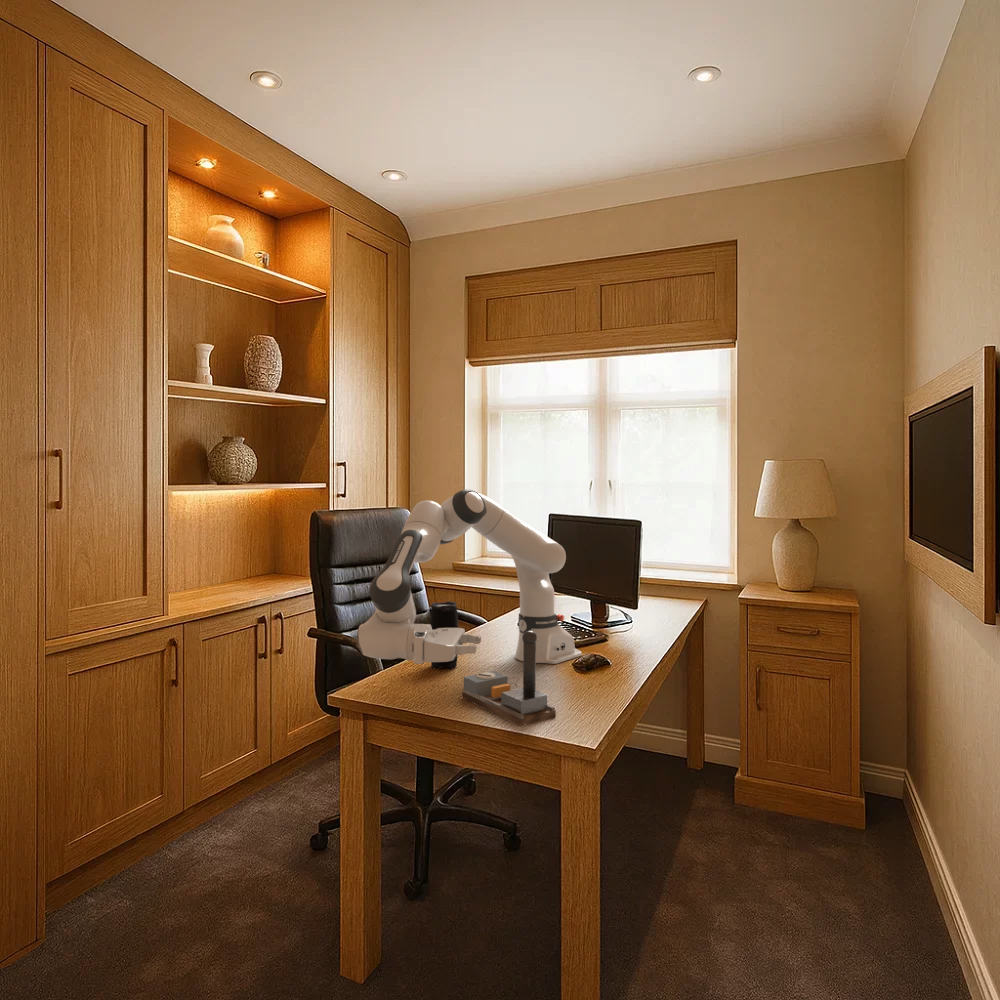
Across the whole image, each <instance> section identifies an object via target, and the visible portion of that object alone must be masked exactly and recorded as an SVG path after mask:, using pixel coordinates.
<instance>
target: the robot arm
mask: <svg viewBox="0 0 1000 1000" xmlns="http://www.w3.org/2000/svg"><path fill="white" fill-rule="evenodd" d="M471 528H472V529H474V530H475V531H476V532H477V533H478V534H479V535H481V536H482V537H484V538H485V539H487V540H488V541H489V542H491V543H492V544H493V545H495V546H496V547H498V548H499V549H501V550H502V551H505V552H506V553H507V554H509V555H511V559H512V560H513V562H514V564H515V570H516V574H517V575H516V576H517V580H518V586H519V613H518V622H517V623H518V639H517V646H516V649H515V654H514V658H515V659H516V660H517V661H519V662H520V661H521V662H523V640H522V636H523V634H524V633H525V632H526V631H533V632H535V633H536V635H537V641H536V664H552V665H555V664H559V663H562V662H566V661H568V660H572V659H575V658H578V657H581V656H583V653H582V651H581V650H580V649H577V648H576V647H575V646H576V645H575V640H574V636H572V634H570V632H568V631H567V630H565V629H564V627H562V626H561V625H559V621H560V622H564V621H565V616H564V615H563V614H560V613H559V614H556V613H555V589H554V586H553V584H552V582H551V579H550V574H554V573H555V574H556V573H558V572H559V571H560V570H562V568H564V566H565V563H566V560H567V554H566V550H565V548H564V547H563V545H561V544H559V543H558V542H557V541H555V540H554V539H552V538H550V537H549V536H547V535H546V534H545V533H543V532H541V531H540V530H537V529H536V528H534V527H533V526H532V525H530V524H528V523H526V522H525V521H523V520H521V519H520V518H519V517H517V516H516V515H515V514H514V513H512V512H511V511H509V510H508V509H507V508H505V507H504V506H502V505H501V504H500V503H498V502H497V501H495V500H494V499H492V498H490V497H489V496H486V495H484V494H482V493H480V492H477V491H475V490H472V489H470V488H469V489H468V488H465V489H461V490H460V491H457V492H455V494H453V495H452V496H450V497H448V498H447V499H446V500H444V501H443V502H442V503H441V504H439V503H438V502H435V501H433V500H430V499H429V500H427V499H426V500H421V501H419V502H417V503H416V504H415V505H414V506H413V509H412V510H411V512H410V513H409V515H408V517H407V519H406V521H405V523H404V526H403V528H402V530H401V534H400V535H399V536H398V538H397V540H396V542H395V544H394V546H393V548H392V550H391V552H390V555H389V557H388V559H387V561H386V562H385V564H384V567H382V569H381V570H380V571H379V572H378V573H377V575H375V577H373V579H372V580H371V583H370V584H369V589H368V593H369V596H370V597H369V598H370V599H371V600H372V603H373V605H374V608H375V611H374V613H373V614H372V615H371V616H370V618H368V619H367V621H365V622H364V623H362V624H360V625H359V626H358V629H357V633H356V634H357V644H358V647H359V651H360V653H361V654H362V655H363V656H365V657H368V658H371V659H372V658H373V659H381V660H395V659H404V660H406V661H413V664H415V665H416V664H417V665H422V664H424V663H431V662H448V661H452V660H454V658H455V657H456V655H458V656H462V655H468V654H473V655H475V654H476V653H477V645H479V644H481V643H482V637H481V635H475V634H470V633H466V630H465V628H462V627H458V628H437V629H436V630H432V627H431V625H430V623H415V622H416V619H417V610H416V606H415V605H416V604H415V601H414V598H413V594H412V590H411V589H412V586H411V580H410V573H411V571H412V568H413V565H414V563H418V564H419V563H425V562H428V561H431V560H432V559H433V558H434V556H435V555H436V553H437V551H438V549H439V547H440V545H446V544H449V543H451V542H453V541H454V540H455V539H457V538H460V537H461V536H463V535H464V534H465V533H467V532H468V531H469V530H470V529H471ZM467 643H468V644H467Z"/></svg>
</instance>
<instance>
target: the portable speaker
mask: <svg viewBox="0 0 1000 1000" xmlns="http://www.w3.org/2000/svg"><path fill="white" fill-rule="evenodd" d="M430 607H431V608H430V609H431V611H430V619H429V620H430V621H429V624H430V625H431V627H432V630H436V629H437V628H459V617H458V616H459V615H458V607H457V602H455V601H445V602H432V603H431V605H430ZM458 656H459V655H456V657H455V658H454V660H452V661H448V662H430V664H431V669H433V668H435V669H434V670H437V669H439V670H440V668H448V669H449V670H453V669H452V668H454V669H456V668H457V667H458V666H457V664H458ZM455 667H456V668H455Z"/></svg>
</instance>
